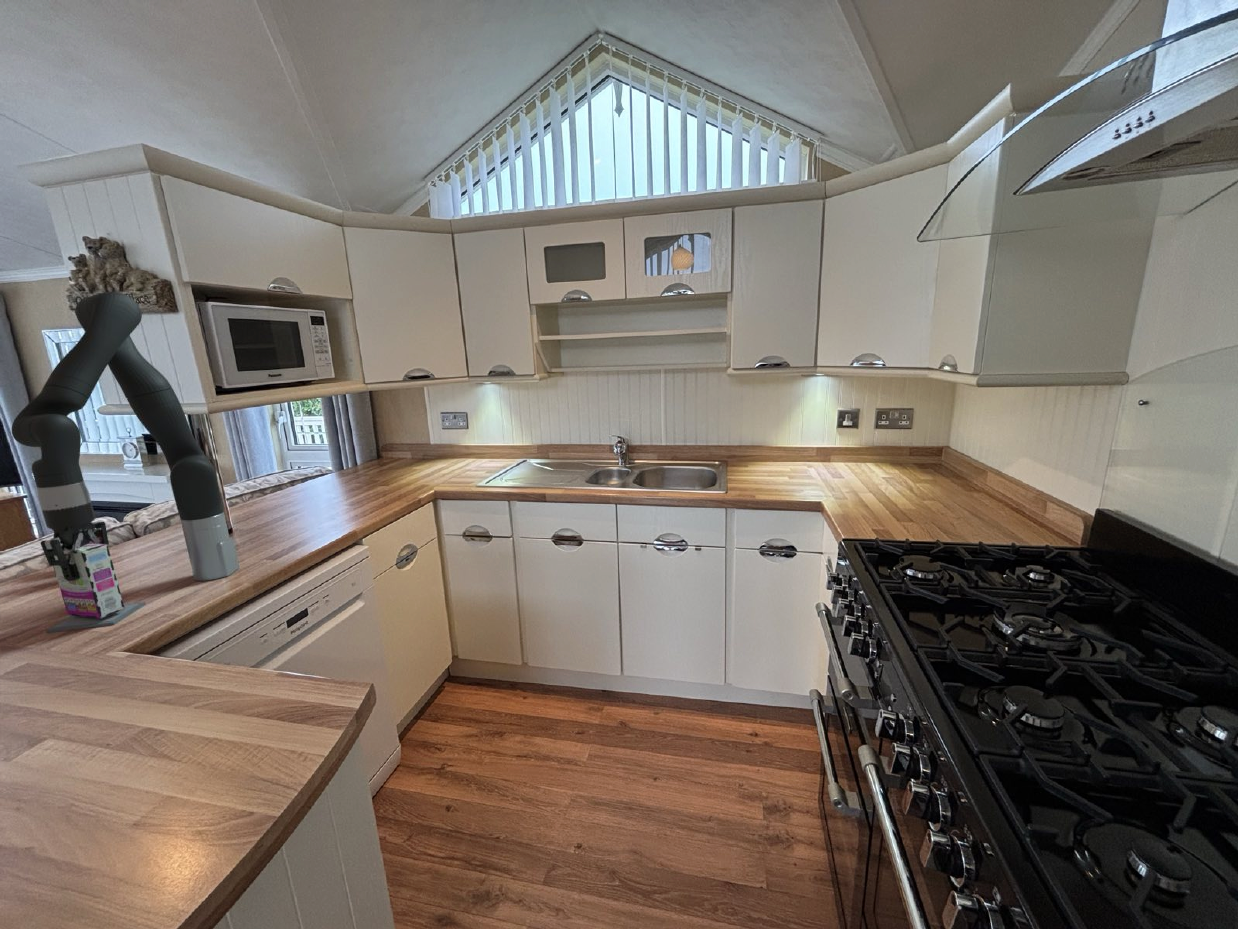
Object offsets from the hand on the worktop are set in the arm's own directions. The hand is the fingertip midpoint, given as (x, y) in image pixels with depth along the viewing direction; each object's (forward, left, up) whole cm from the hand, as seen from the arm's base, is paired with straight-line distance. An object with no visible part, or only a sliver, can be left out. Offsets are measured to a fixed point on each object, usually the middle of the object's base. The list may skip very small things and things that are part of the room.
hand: (86, 573), depth 114 cm
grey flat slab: (0, 0, -11) cm, 11 cm away
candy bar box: (0, 0, -10) cm, 10 cm away
